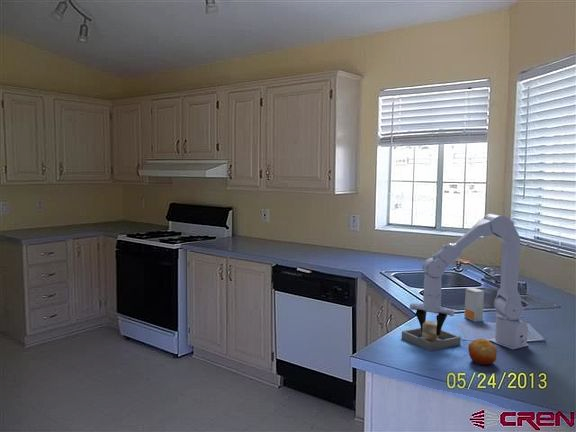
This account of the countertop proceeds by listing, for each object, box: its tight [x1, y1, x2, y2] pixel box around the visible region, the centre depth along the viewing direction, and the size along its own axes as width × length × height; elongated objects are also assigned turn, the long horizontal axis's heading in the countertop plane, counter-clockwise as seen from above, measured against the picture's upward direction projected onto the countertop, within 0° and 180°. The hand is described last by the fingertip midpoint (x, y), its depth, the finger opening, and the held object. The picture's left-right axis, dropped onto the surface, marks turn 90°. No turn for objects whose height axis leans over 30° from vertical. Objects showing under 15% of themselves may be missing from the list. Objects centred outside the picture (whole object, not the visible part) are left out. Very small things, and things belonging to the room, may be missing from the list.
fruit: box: [468, 338, 498, 366], centre depth 147 cm, size 8×8×8 cm
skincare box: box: [463, 287, 485, 323], centre depth 190 cm, size 6×4×12 cm
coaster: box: [421, 337, 441, 342], centre depth 165 cm, size 7×7×1 cm
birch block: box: [421, 319, 440, 341], centre depth 164 cm, size 4×4×5 cm
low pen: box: [401, 327, 462, 352], centre depth 165 cm, size 14×14×2 cm
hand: (430, 333), depth 164 cm, fingers closed on birch block, 4 cm apart
